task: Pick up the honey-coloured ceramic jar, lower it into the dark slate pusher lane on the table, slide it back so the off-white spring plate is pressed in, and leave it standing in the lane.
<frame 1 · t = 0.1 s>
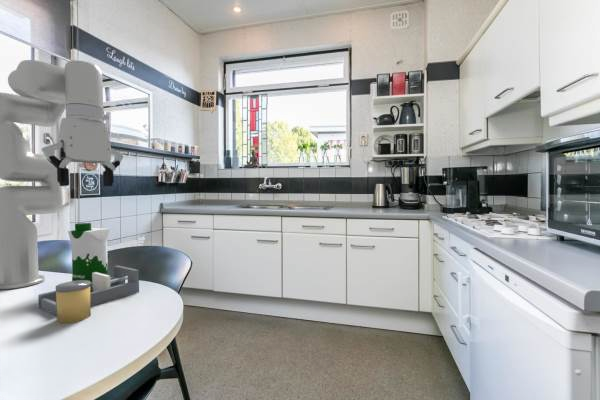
hand: (87, 186, 75), 31 cm above the table, tool pointing down, fingers open, 9 cm apart
honey jar: (74, 317, 72), on the table
milk carton: (91, 287, 95), on the table
lane: (90, 299, 84), on the table
pusher: (114, 281, 90), point 3 cm above the table, slide at 0.0 cm
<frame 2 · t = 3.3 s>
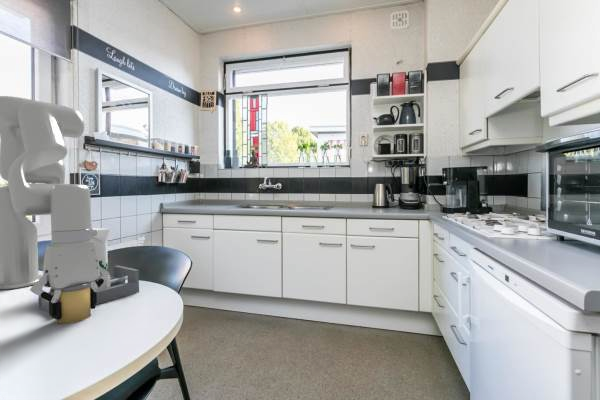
hand: (74, 312, 72), 1 cm above the table, tool pointing down, fingers closed on honey jar, 6 cm apart
honey jar: (74, 317, 72), on the table, touching gripper
everything else where it was.
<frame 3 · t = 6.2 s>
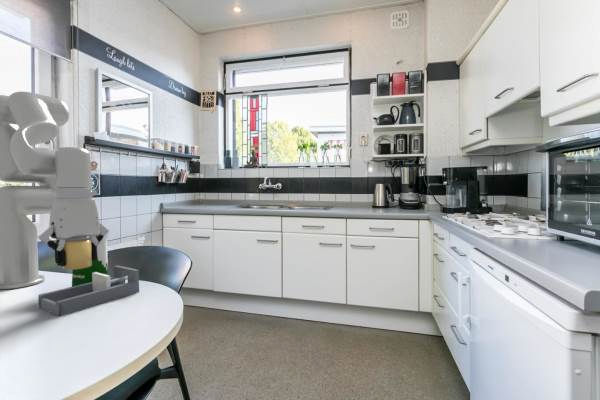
hand: (77, 262, 81), 11 cm above the table, tool pointing down, fingers closed on honey jar, 6 cm apart
honey jar: (77, 266, 81), point 10 cm above the table, touching gripper
everything else where it was.
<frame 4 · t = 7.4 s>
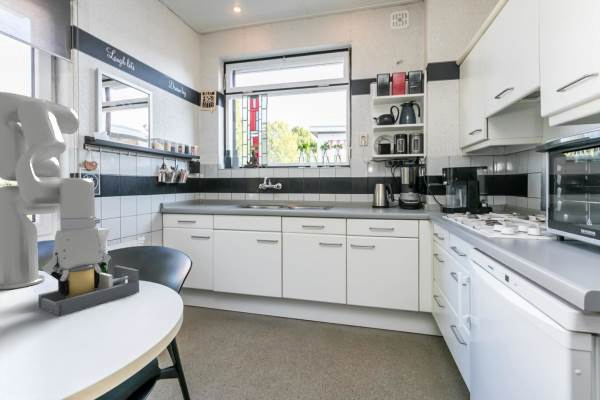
hand: (80, 290, 82), 3 cm above the table, tool pointing down, fingers closed on honey jar, 6 cm apart
honey jar: (80, 295, 82), point 2 cm above the table, touching gripper
pusher: (116, 280, 90), point 3 cm above the table, slide at 0.6 cm, touching gripper
everything else where it was.
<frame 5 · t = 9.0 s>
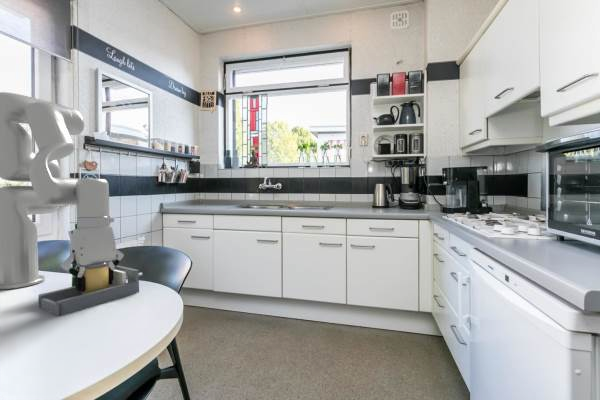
hand: (95, 286, 85), 3 cm above the table, tool pointing down, fingers closed on honey jar, 6 cm apart
honey jar: (95, 291, 85), point 2 cm above the table, touching gripper
pusher: (128, 277, 93), point 3 cm above the table, slide at 4.4 cm, touching gripper
everything else where it was.
when the fingers open (3 cm above the table, at t = 9.3 s): honey jar drops 2 cm, resting in lane.
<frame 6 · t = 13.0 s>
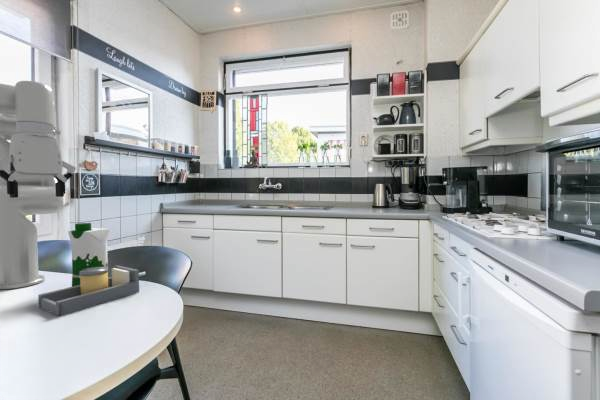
hand: (38, 197, 80), 28 cm above the table, tool pointing down, fingers open, 9 cm apart
honey jar: (94, 298, 85), resting in lane
pusher: (132, 277, 94), point 3 cm above the table, slide at 5.4 cm
everything else where it was.
at the end: honey jar inside the target area (0.8 cm from its centre), resting in lane; honey jar tilted 0°; pusher slide at 5.4 cm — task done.
